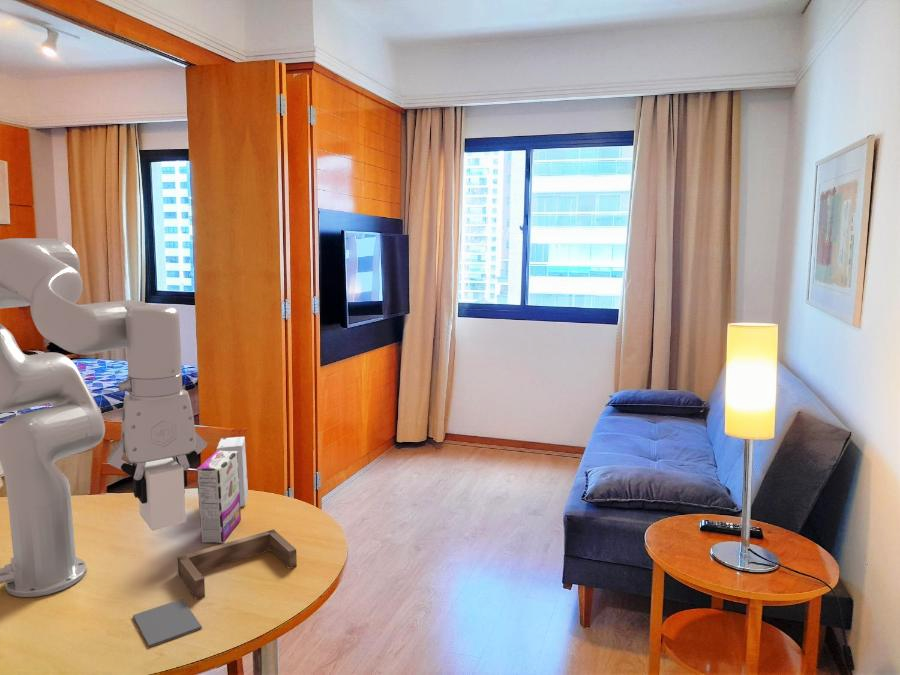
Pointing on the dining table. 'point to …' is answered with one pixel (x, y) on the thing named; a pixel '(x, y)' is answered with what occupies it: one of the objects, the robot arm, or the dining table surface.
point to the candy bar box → (219, 496)
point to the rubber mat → (166, 622)
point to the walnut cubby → (232, 557)
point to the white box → (163, 494)
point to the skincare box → (239, 446)
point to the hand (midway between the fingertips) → (161, 495)
